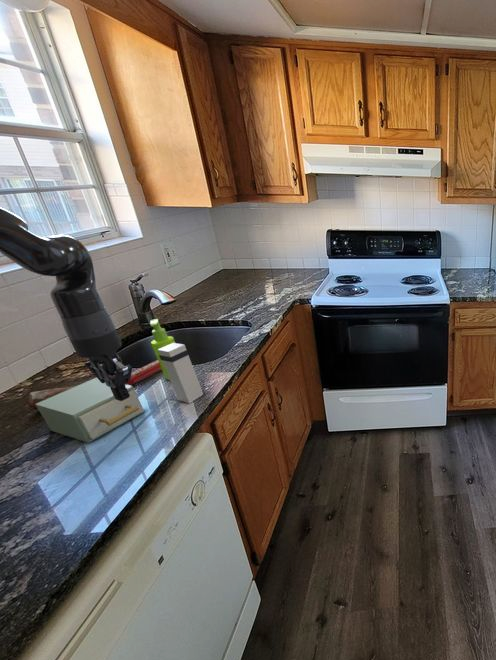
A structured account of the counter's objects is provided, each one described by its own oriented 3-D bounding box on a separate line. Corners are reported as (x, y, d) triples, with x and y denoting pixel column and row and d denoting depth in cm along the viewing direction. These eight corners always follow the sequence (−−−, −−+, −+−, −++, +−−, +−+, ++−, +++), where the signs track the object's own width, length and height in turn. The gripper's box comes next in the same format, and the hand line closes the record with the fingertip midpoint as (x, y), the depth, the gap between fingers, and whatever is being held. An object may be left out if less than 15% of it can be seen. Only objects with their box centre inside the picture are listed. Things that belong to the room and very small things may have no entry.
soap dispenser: (165, 383, 117) (141, 326, 109) (165, 374, 122) (142, 319, 114) (187, 377, 120) (165, 321, 112) (186, 368, 125) (165, 315, 117)
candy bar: (129, 387, 115) (125, 379, 114) (121, 386, 116) (117, 378, 115) (176, 363, 129) (173, 356, 128) (168, 362, 130) (165, 355, 129)
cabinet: (144, 411, 103) (132, 386, 100) (88, 443, 92) (72, 415, 88) (109, 402, 108) (96, 377, 105) (51, 430, 97) (34, 404, 93)
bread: (41, 404, 108) (31, 389, 106) (122, 387, 116) (114, 372, 113) (31, 416, 103) (21, 400, 100) (116, 397, 110) (108, 381, 108)
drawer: (154, 413, 101) (145, 393, 98) (103, 443, 90) (91, 421, 87) (110, 402, 107) (100, 382, 104) (57, 428, 96) (44, 407, 93)
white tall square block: (189, 403, 107) (168, 352, 99) (177, 400, 108) (156, 349, 101) (204, 394, 111) (185, 344, 103) (192, 391, 112) (173, 342, 105)
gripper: (131, 328, 80) (158, 395, 87) (93, 322, 84) (122, 386, 91) (90, 342, 73) (124, 413, 81) (52, 334, 78) (87, 402, 85)
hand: (123, 398), depth 86 cm, fingers closed
